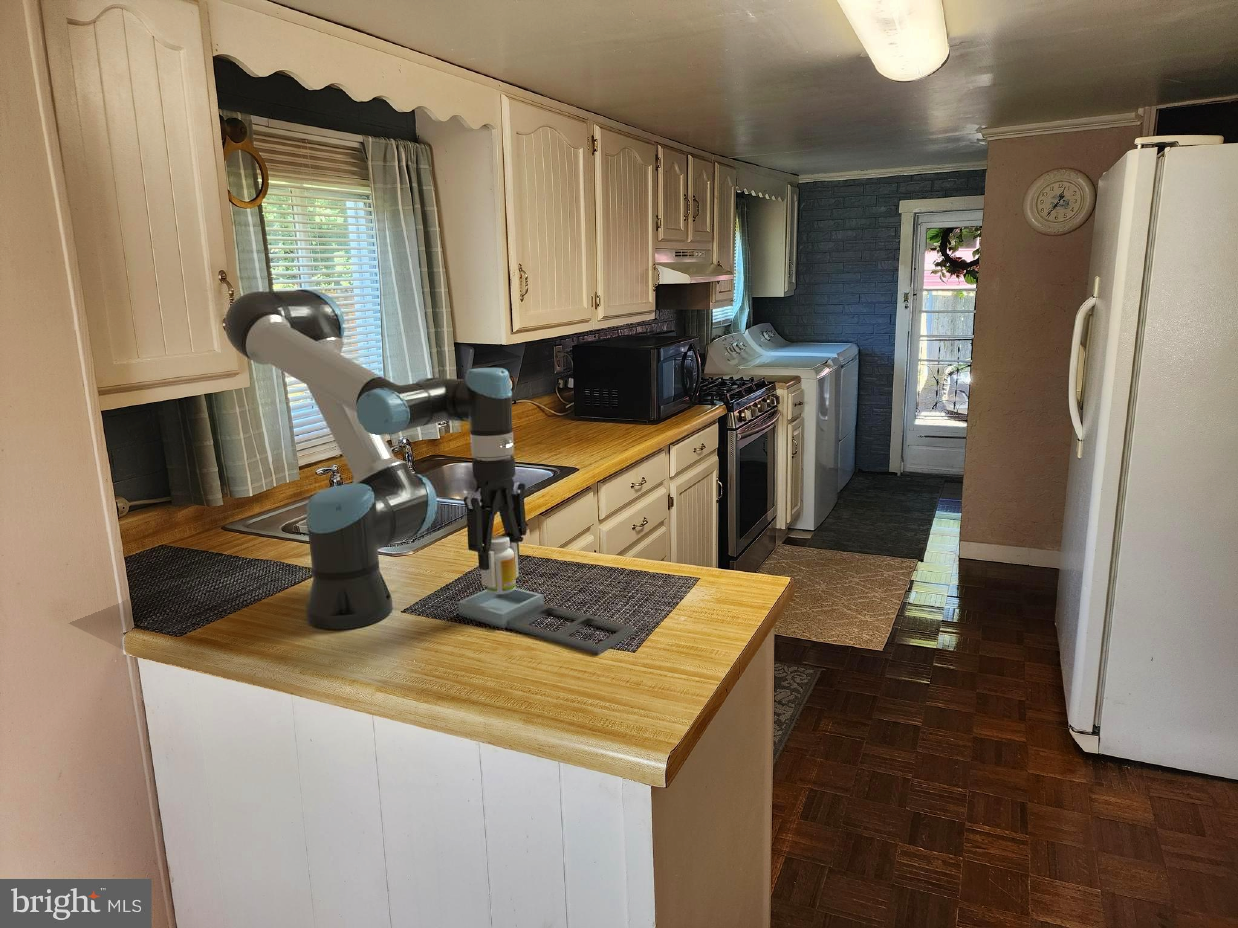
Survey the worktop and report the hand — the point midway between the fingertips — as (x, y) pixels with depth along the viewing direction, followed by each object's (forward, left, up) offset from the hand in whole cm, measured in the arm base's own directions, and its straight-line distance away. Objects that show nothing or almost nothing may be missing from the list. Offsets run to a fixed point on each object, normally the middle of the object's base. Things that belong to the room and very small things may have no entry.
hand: (500, 580), depth 154 cm
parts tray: (0, 0, -6) cm, 6 cm away
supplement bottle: (0, 0, -2) cm, 2 cm away
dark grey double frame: (0, -16, -6) cm, 17 cm away
